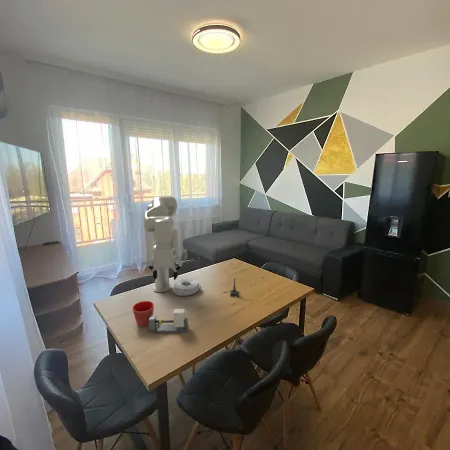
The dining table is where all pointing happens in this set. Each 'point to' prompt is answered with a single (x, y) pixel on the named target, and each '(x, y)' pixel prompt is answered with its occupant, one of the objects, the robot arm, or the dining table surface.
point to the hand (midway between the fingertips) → (165, 278)
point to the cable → (186, 286)
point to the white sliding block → (179, 317)
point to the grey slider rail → (166, 326)
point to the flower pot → (143, 312)
